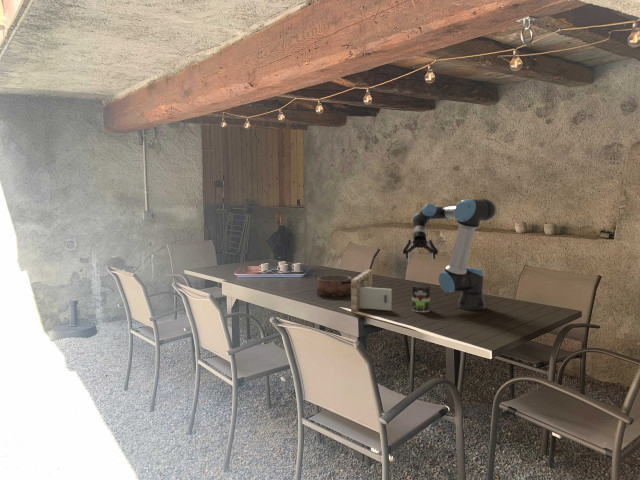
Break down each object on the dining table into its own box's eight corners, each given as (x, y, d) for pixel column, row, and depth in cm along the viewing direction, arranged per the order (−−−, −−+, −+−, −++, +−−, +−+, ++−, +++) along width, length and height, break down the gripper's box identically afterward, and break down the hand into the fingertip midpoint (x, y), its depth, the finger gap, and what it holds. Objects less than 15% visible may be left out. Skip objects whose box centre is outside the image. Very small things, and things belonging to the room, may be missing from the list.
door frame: (367, 297, 294) (367, 269, 293) (371, 297, 293) (372, 269, 292) (351, 311, 259) (351, 279, 257) (356, 312, 258) (356, 280, 256)
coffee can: (429, 313, 255) (430, 288, 254) (410, 311, 258) (411, 286, 257) (430, 308, 265) (431, 284, 264) (412, 307, 268) (412, 283, 267)
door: (354, 308, 264) (355, 287, 263) (356, 306, 268) (356, 286, 266) (390, 311, 258) (390, 290, 256) (391, 309, 261) (391, 288, 260)
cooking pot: (362, 294, 303) (362, 278, 302) (338, 300, 288) (338, 283, 286) (330, 287, 325) (330, 272, 323) (306, 292, 310) (306, 276, 308)
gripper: (440, 239, 284) (442, 266, 270) (398, 238, 288) (398, 266, 274) (441, 231, 278) (443, 259, 265) (399, 230, 282) (399, 258, 269)
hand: (420, 262), depth 269 cm, fingers open, 13 cm apart
